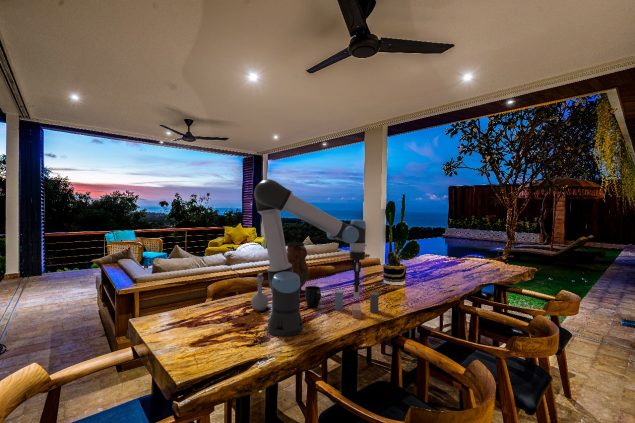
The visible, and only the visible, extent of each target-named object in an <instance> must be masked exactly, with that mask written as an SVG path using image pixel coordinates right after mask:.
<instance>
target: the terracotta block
mask: <svg viewBox="0 0 635 423" xmlns="http://www.w3.org/2000/svg"><path fill="white" fill-rule="evenodd" d="M351 315H352V318H353V319H362V308H361V304H360V303H351Z"/></svg>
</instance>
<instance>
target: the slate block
mask: <svg viewBox="0 0 635 423" xmlns="http://www.w3.org/2000/svg"><path fill="white" fill-rule="evenodd" d="M343 309H344V290H338V289H336V290H335V291H334V311H343Z"/></svg>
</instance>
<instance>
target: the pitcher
mask: <svg viewBox="0 0 635 423" xmlns="http://www.w3.org/2000/svg"><path fill="white" fill-rule="evenodd" d="M286 246H287V247H286V248H287V251H286V253H287V259H288V262H289V263H290V264H292V269H293V273H296V274H297V275H298V276H299V277H300V294H303V293H304V290H303V289H302V288H303V287H304V285H305V284H306V283H307V281H308V280H309V274H310V271H309V267H308V266H309V265H308V264H307V260H306V258H307V255H308V251H307V247H306V246H305V242H287V244H286Z"/></svg>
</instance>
